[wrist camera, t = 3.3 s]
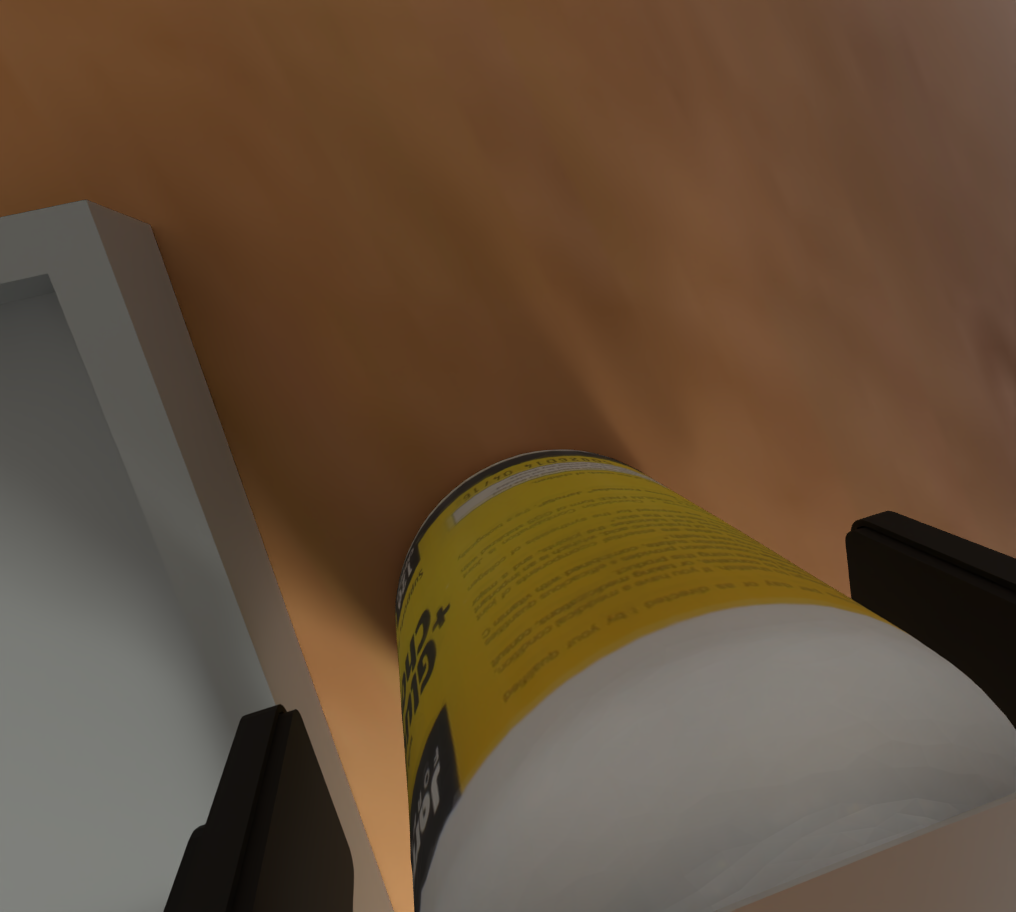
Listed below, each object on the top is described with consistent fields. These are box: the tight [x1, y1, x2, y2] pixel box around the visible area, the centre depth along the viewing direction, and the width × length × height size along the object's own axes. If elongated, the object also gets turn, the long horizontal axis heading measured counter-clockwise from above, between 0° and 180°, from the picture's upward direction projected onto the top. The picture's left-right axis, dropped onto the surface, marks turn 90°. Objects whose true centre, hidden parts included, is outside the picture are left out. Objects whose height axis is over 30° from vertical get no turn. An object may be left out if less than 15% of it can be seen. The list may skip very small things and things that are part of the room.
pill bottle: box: [395, 450, 1016, 912], centre depth 9 cm, size 6×6×12 cm
